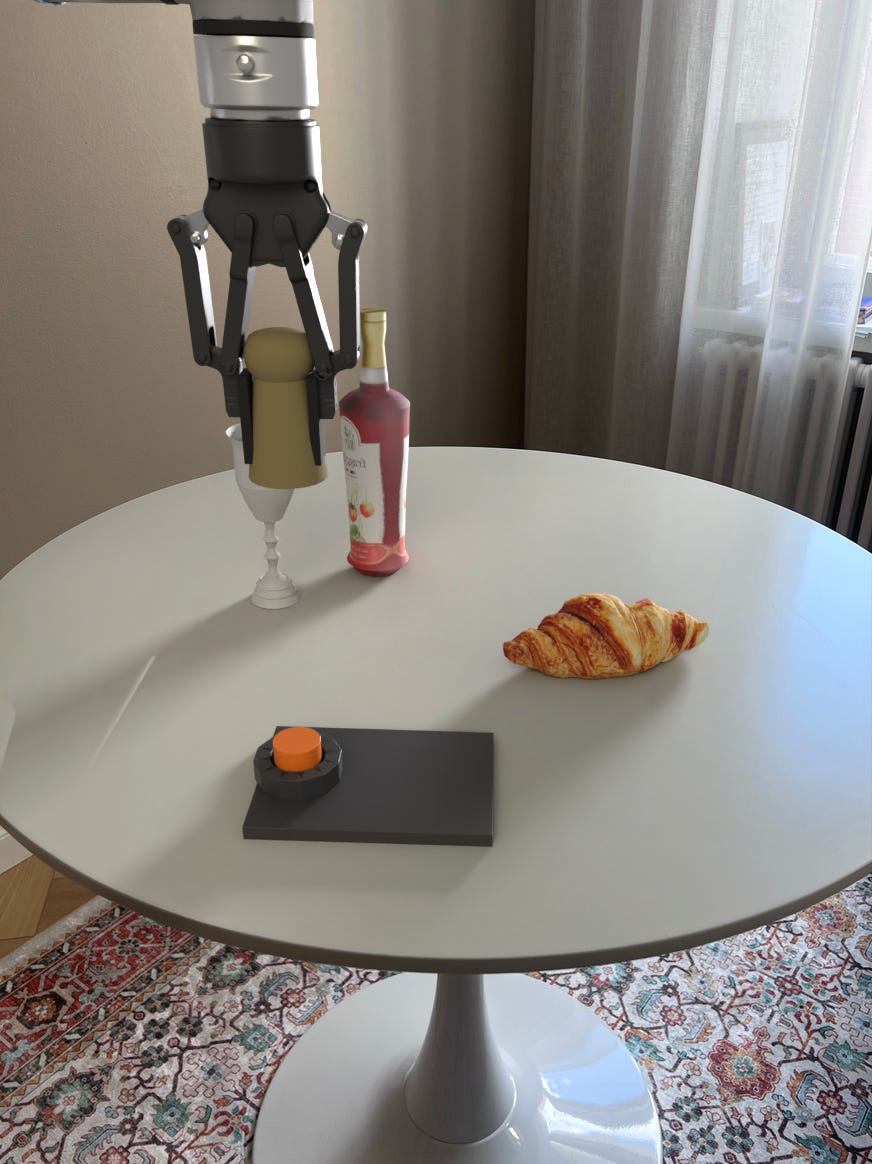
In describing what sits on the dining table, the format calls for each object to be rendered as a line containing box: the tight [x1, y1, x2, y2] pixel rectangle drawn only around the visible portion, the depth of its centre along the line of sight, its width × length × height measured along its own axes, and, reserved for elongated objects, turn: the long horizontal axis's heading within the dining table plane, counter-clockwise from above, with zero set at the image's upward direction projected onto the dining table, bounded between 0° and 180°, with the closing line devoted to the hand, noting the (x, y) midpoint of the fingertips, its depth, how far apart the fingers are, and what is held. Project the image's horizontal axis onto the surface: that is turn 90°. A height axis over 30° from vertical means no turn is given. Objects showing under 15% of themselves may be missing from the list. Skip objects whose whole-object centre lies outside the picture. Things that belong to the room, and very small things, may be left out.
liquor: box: [338, 307, 411, 578], centre depth 108 cm, size 7×7×28 cm
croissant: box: [502, 592, 710, 680], centre depth 97 cm, size 21×10×8 cm, turn 109°
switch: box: [273, 726, 322, 772], centre depth 78 cm, size 4×4×2 cm
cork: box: [243, 326, 329, 490], centre depth 76 cm, size 6×6×11 cm
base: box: [241, 725, 494, 848], centre depth 79 cm, size 18×13×3 cm
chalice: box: [225, 422, 301, 610], centre depth 103 cm, size 7×7×18 cm
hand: (285, 458), depth 78 cm, fingers closed on cork, 4 cm apart
